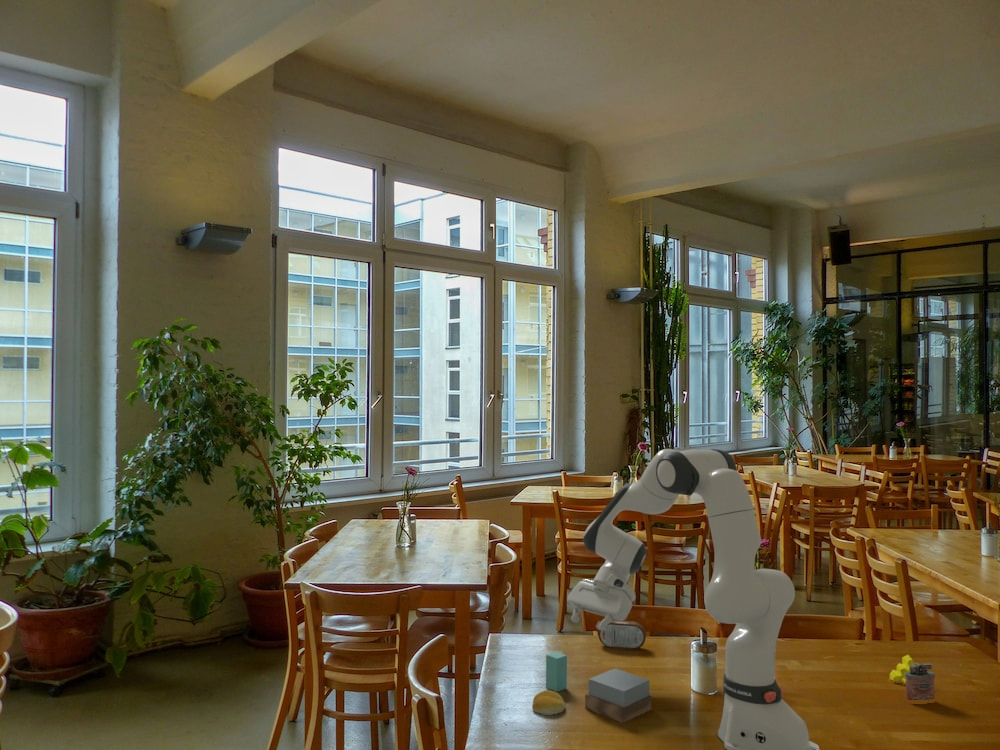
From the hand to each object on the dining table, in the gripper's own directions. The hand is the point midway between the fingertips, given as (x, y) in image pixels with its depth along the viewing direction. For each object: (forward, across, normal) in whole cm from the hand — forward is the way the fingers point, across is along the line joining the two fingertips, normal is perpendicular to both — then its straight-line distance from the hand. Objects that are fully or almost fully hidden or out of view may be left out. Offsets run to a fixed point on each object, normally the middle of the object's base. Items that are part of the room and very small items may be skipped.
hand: (586, 624), depth 221 cm
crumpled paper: (-36, +62, +57) cm, 92 cm away
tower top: (+15, +20, +1) cm, 25 cm away
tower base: (+18, +20, +4) cm, 27 cm away
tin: (-9, -9, +30) cm, 33 cm away
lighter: (-28, +70, +49) cm, 90 cm away
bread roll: (+27, +8, -6) cm, 29 cm away
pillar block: (+19, 0, +2) cm, 19 cm away
